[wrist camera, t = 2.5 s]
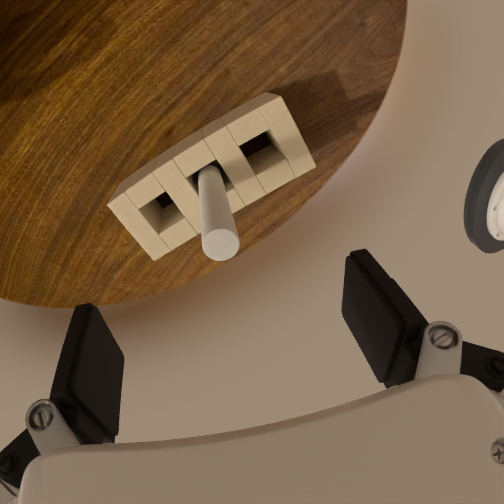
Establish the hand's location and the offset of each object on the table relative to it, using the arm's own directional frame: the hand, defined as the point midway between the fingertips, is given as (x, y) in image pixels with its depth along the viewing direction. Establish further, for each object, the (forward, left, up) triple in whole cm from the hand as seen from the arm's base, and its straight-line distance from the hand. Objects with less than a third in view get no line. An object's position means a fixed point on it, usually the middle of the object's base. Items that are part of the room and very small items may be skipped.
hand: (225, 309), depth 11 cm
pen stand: (0, 0, -19) cm, 19 cm away
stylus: (0, 0, -19) cm, 19 cm away
